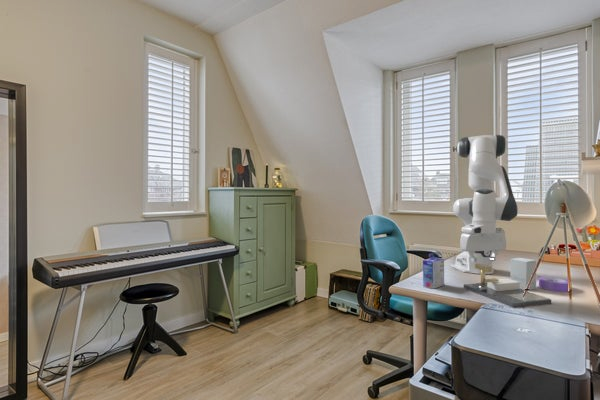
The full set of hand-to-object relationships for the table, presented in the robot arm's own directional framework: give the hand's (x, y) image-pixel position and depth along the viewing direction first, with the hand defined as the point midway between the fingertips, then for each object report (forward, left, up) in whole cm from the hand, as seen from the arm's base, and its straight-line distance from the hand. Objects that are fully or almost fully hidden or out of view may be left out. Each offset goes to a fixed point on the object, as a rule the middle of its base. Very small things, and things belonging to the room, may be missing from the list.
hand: (483, 261), depth 144 cm
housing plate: (+4, +7, -14) cm, 16 cm away
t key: (0, +3, -10) cm, 11 cm away
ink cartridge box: (-15, -13, -14) cm, 24 cm away
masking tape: (+1, +37, -14) cm, 40 cm away
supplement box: (-3, +24, -14) cm, 28 cm away
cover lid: (0, +11, -12) cm, 16 cm away
